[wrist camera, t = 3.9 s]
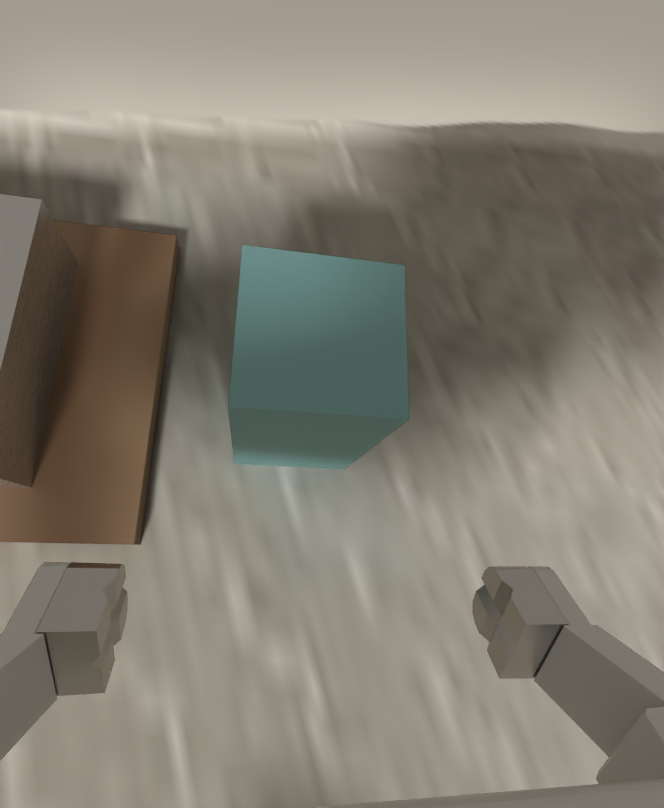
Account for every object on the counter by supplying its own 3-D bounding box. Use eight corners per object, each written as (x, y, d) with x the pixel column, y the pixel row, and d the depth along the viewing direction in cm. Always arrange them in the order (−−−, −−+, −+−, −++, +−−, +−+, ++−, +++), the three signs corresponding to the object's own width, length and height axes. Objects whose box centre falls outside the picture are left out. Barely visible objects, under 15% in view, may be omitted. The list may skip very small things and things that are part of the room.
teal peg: (345, 368, 23) (404, 265, 15) (344, 469, 22) (409, 419, 13) (242, 359, 22) (242, 244, 14) (234, 463, 21) (228, 406, 12)
